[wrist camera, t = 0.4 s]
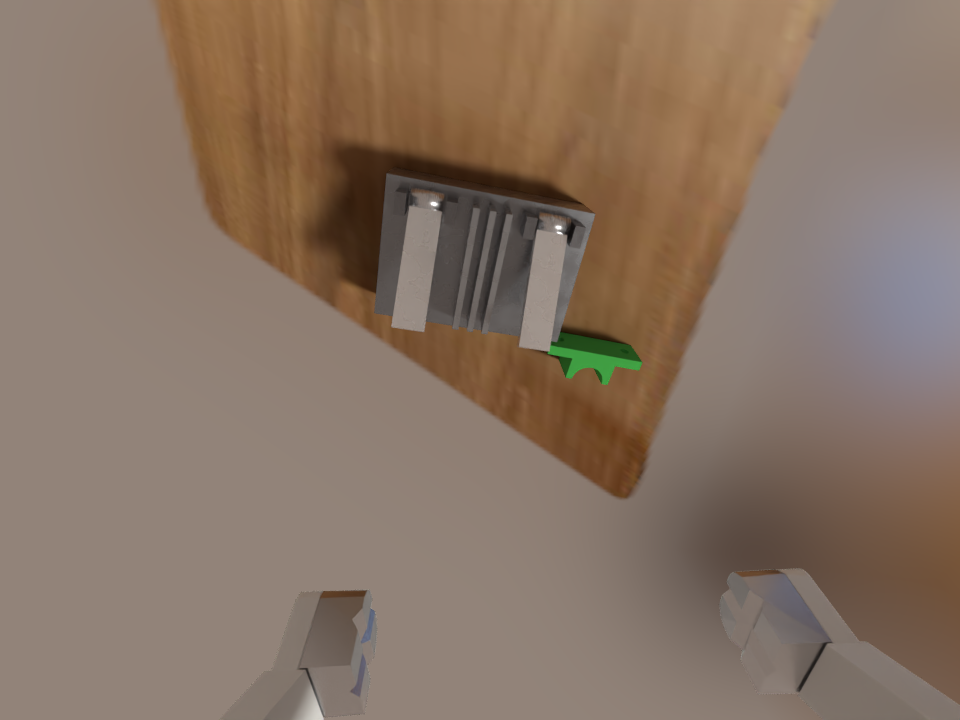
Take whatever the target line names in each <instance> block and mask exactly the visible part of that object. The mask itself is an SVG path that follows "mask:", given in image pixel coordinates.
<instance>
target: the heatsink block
mask: <svg viewBox="0 0 960 720" xmlns="http://www.w3.org/2000/svg"><path fill="white" fill-rule="evenodd" d="M412 187H413V188H419V189H424V190H429V191H434V192H439V193H445V197H444V204H443V210H442V217H441V223H440V230H439V237H438V243H437V250H436V256H435V263H434V270H433V276H432V283H431V290H430V296H429V303H428V309H427V316H426V321H427V322H433V323H439V324H446V325H452V329H456V330H458V327H465V328H467V331H469V332H473V329H477V330H481V333H482V334H487V333H488V331H490V332H496V333H502V334H509V335H515V336H519V329H520V323H521V316H522V310H523V303H524V297H525V290H526V284H527V277H528V271H529V264H530V258H531V251H532V245H533V238H534V233H535V229H536V225H537V221H538V218H537V215H538V213H539V212H544V213H549V214H554V215H559V216H564V217H570V218H571V226H570V230H569V233H568V235H567V242H566V248H565V255H564V261H563V267H562V274H561V280H560V287H559V293H558V300H557V306H556V313H555V319H554V326H553V332H552V339H551V341H553V342H557V341H558V337H559V334H560V331H561V327H562V324H563V320H564V317H565V314H566V310H567V307H568V304H569V300H570V297H571V294H572V290H573V287H574V284H575V280H576V277H577V274H578V270H579V267H580V264H581V260H582V257H583V254H584V250H585V247H586V244H587V240H588V237H589V234H590V230H591V227H592V224H593V220H594V217H595V213H594V212H592V211H591V210H590V209H589V208H588V207H586V206H585V205H584V204H580V203H574V202H569V201H564V200H559V199H554V198H549V197H544V196H539V195H534V194H529V193H523V192H518V191H513V190H508V189H503V188H498V187H493V186H488V185H483V184H478V183H473V182H467V181H462V180H457V179H452V178H447V177H442V176H437V175H432V174H427V173H422V172H416V171H411V170H406V169H401V168H396V167H393V168H392V169H391V170H390V171H389V172H387V174H386V185H385V197H384V208H383V220H382V231H381V243H380V255H379V266H378V278H377V289H376V301H375V312H374V313H377V314H383V315H389V316H393V312H394V305H395V299H396V292H397V285H398V279H399V272H400V265H401V259H402V252H403V245H404V239H405V232H406V226H407V219H408V212H409V205H410V195H411V189H412Z"/></svg>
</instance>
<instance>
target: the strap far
mask: <svg viewBox="0 0 960 720" xmlns="http://www.w3.org/2000/svg"><path fill="white" fill-rule="evenodd" d="M537 218H538V221H537V225H536V229H535V233H534V238H533V245H532V251H531V258H530V264H529V271H528V277H527V284H526V290H525V297H524V303H523V310H522V316H521V323H520V329H519V336H518V342H517V347H522V348H528V349H535V350H541V351H549V352H550V345H551V339H552V332H553V326H554V319H555V313H556V306H557V300H558V293H559V287H560V280H561V274H562V267H563V261H564V255H565V248H566V242H567V235H568V233H569V230H570V226H571V218H570V217H564V216H559V215H554V214H549V213H544V212H539V213H538V215H537Z"/></svg>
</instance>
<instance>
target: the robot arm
mask: <svg viewBox="0 0 960 720" xmlns="http://www.w3.org/2000/svg"><path fill="white" fill-rule="evenodd" d="M727 583H728V585H729V587H730V589H729V590H728V591H727V592H725V593H724V594H723V595H722V598H721V601H720V614H721V619H722V622H723V625H724V628H725V630H726V632H727V634H728V637H729V638H730V640H731V641H732V642H733V643H735V644H736V645H737V646H738V647H740V648H741V649H742V655H741V662H742V664H743V666H744V668H745V670H746V672H747V674H748V676H749V678H750V680H751V682H752V684H753V686H754V688H755V690H756V692H757V694H784V693H785V694H788V693H799V694H798V696H799V697H800V698H801V699H802V700H803V701H804V702H805V703H806V704H807V705H808V706H809V707H810V708H811V709H812V710H813V711H814V712H816V714H817V715H819V716H820V717H821V718H822V719H823V720H960V705H959V704H957V703H956V702H954V701H953V700H951V699H950V698H948V697H947V696H945V695H944V694H942V693H941V692H939V691H938V690H937V689H935V688H934V687H932V686H931V685H929V684H928V683H926V682H925V681H923V680H922V679H920V678H919V677H918V676H916V675H914V674H913V673H912V672H910V671H909V670H907V669H906V668H904V667H903V666H901V665H900V664H898V663H897V662H895V661H894V660H892V659H891V658H890V657H888V656H887V655H885V654H884V653H882V652H881V651H879V650H878V649H876V648H875V647H874V646H872V645H870V644H869V643H868V642H859V641H858V639H857V638H856V636H855V635H854V634H853V633H852V631H851V630H850V629H849V627H848V626H847V625H846V623H845V622H844V621H843V619H842V618H841V617H840V615H839V614H838V613H837V611H836V610H835V609H834V607H833V606H832V605H831V604H830V602H829V601H828V599H827V598H826V597H825V595H824V594H823V593H822V592H821V590H820V589H819V587H818V586H817V585H816V583H815V582H814V581H813V579H812V578H811V577H810V576H809V574H808V573H807V572H805V571H804V570H802V569H783V570H776V569H771V570H756V571H742V572H733V573H732V574H730V575H729V577H728V580H727ZM371 603H372V596H371V592H370V590H345V591H312V592H301V593H300V594H299V596H298V597H297V599H296V600H295V603H294V606H293V609H292V612H291V615H290V618H289V620H288V623H287V627H286V630H285V632H284V635H283V638H282V641H281V644H280V647H279V650H278V653H277V656H276V658H275V661H274V664H273V667H272V670H271V671H265V672H263V673H262V674H261V675H260V676H259V677H258V678H257V680H256V681H255V682H254V683H253V684H252V685H251V686H250V687H249V688H248V689H247V690H246V692H244V694H243V695H242V696H241V697H240V698H239V699H238V700H237V701H236V702H235V703H234V704H233V705H232V706H231V707H230V709H228V711H227V712H226V713H225V714H224V715H223V716H222V717H221V718H220V719H219V720H324V718H323V717H334V716H347V715H360V714H365V708H366V702H367V697H368V691H369V685H370V675H369V671H368V667H367V665H368V664H369V663H370V661H371V660H372V659H373V658H374V655H375V648H376V637H377V619H376V614H375V611H374V610H372V609H371Z"/></svg>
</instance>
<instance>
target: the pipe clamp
mask: <svg viewBox="0 0 960 720" xmlns="http://www.w3.org/2000/svg"><path fill="white" fill-rule="evenodd" d="M547 354H551V355H556V356H560V358H559V361H560V364H561V367H562V369H563V372H564V375H565V377H566V378H571V379H572V377H573V375H574V374H575V373H576V372H577V371H579V370H580V369H583V368H594V370H595V372H596V374H597V376H598V378H599V380H600V382H601V384H605V385H607V384H608V382H609V380H610V377H611V375H612V372H613V370H614V367H615V366H617V367H622V368H628V369H633V370H639V369H640V367H641V365H642V361H641V360H640V358H639V357H638V355H637V354H636V352H635V351H634V349H633V348H632V347H631V345H626V344H621V343H616V342H610V341H605V340H600V339H595V338H589V337H584V336H579V335H574V334H568V333H563V332H560V334H559V337H558V341H557V342H553V341H551V345H550V352H549V351H547Z"/></svg>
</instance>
